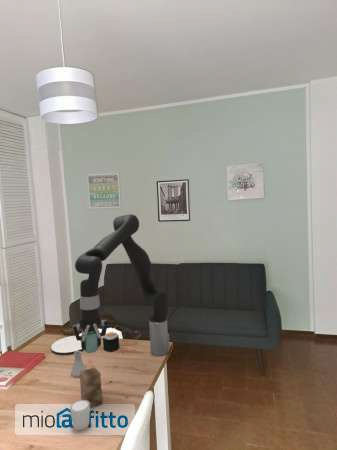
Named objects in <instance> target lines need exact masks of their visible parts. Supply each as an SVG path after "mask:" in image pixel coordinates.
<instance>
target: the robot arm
mask: <svg viewBox="0 0 337 450" xmlns="http://www.w3.org/2000/svg"><path fill="white" fill-rule="evenodd" d="M112 226H113V230H114V231H113V232H111V233H110V234H108V235H106V236H104V237H103V238H102V239H101V240H100V241H99V242H98V243H96V245H94V247H92V248H91V249H89V250H87V251H85V252H84V253H81V254H80V255H79V256H78V257H77V259H76V261H75V262H74V268H75V271H76V272H78V273H79V274H86V275H88V277H87V279H83V280H81V282H80V284H79V285H80V288H79V290H80V292H79V293H80V297H79V299H80V300H79V308H80V309H79V312H80V313H79V314H80V315H79V316H80V321H79V322H78V323H76V324H72V329H73V332H74V336H76V339H77V341H79V340H80V341H81V347H82V349H81V350H82V351H85V350H86V348H85V337H86V335H87V333H88V332H91V331H92V332H94V331H95V332H96V333H97V339H98V348H100V347H101V345H102V338H103V336H105V335H106V334H107V333H106V332H107V329H108V324H109V321H108V320H107V319H106V318H104V319H101V309H100V306H101V303H100V302H101V301H100V292H99V283H100V279H101V274H102V271H103V261H106V260H107V259H108V258H109V256H110V255H111V254H112V253H113V252H114V251H115V250H116V249H117V248H118V247H119V246H120V245H121V244H122V246H123V248H124V250H125V252H126V255H127V257H128V259H129V262H130V264H131V267H132V269H133V271H134V273H135V275H136V278H137V280H138V282H139V284H140V286H141V289H142V294H143V296H144V300H145V301H146V304H148V305H149V306H151V307H153V311H152V312H151V313H149V316H148V320H149V321H148V324H149V326H148V327H149V343H150V344H149V346H150V354H151V355H153V356H155V357H156V356H157V357H162V356H165V355H167V354H168V353H170V352H171V350H170V349H171V347H170V346H171V344H170V334H169V333H168V315H169V296H168V293H167V291H166V290H164V289H160V288H158V287H156V285H155V282H154V280H153V274H152V273H153V265H152V262H151V260H150V256H149V254H148V253H147V252H146V250H145V249H143V248H142V246H140V245H139V244H138V243H137V242H136V241H135V240H134V239H133V237H132V236H133V235H134V234H135V233H137V232H138V230H139V228H140V221H139V218H138V217H137V216H136V215H135V214H130V213H129V214H125V215H120V216H116V217H115V218H114V219H113V221H112ZM101 325H102V328H101V332H100V330H99V327H100V326H101ZM80 328H81V329H82V331H81V335H80V334H79V332H78V331H79V329H80Z"/></svg>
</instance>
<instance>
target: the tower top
mask: <svg viewBox="0 0 337 450" xmlns="http://www.w3.org/2000/svg"><path fill="white" fill-rule="evenodd" d="M86 369H87V370H85V371H82V372H80V377H79V382H80V383H79V385H80V389H81V388H82V389H83V390H84V391H85V392H86V394H88V393H90V392H92V391H95V390H97V389H99V388H101V389H102V379H101V378H102V377H101V375H102V374H101V372H100V371H99V370H98V369H96V367H95V366H92V367H90V368H86Z"/></svg>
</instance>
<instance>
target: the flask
mask: <svg viewBox="0 0 337 450" xmlns="http://www.w3.org/2000/svg"><path fill="white" fill-rule="evenodd" d="M81 354H82V351H81V350H79V351H76V352H73V355H74V361H73V366H72V369H71V373H70V377H73V378H80V372H82V371H85V370H87V369H88V368H87V367H86V366H85V363H84V362H83V359H82V355H81Z"/></svg>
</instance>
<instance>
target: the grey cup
mask: <svg viewBox="0 0 337 450" xmlns="http://www.w3.org/2000/svg"><path fill="white" fill-rule="evenodd" d="M69 411H70V416H71V422H72V428H73V429H74V430H76V431H80V430H81V431H82V430H84V429H86V428H87V427H88V426H89V425H90V413H91V408H90V402H89V401H87V400H81V399H79V400H77V401H75V402H72V403H71V405H70V407H69Z"/></svg>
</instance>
